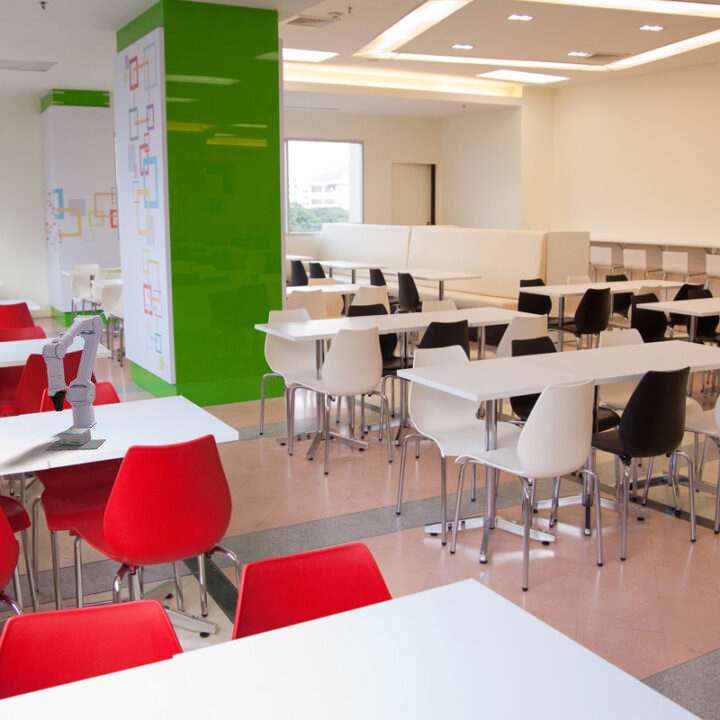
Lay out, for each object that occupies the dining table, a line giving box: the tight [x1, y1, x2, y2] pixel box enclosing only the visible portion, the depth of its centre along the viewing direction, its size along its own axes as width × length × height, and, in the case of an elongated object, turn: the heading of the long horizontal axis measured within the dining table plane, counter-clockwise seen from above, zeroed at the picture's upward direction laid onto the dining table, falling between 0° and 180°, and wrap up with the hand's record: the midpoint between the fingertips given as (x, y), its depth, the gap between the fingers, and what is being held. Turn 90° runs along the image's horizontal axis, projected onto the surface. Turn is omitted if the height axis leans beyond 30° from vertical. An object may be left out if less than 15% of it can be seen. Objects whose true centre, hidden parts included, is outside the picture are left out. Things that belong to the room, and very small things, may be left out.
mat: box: [44, 438, 107, 452], centre depth 297 cm, size 12×18×1 cm, turn 92°
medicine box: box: [59, 427, 92, 445], centre depth 299 cm, size 8×4×9 cm
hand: (59, 411), depth 310 cm, fingers closed
